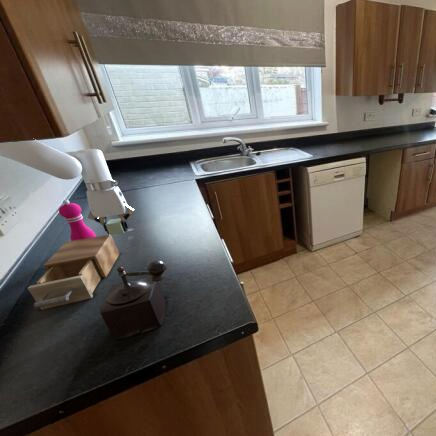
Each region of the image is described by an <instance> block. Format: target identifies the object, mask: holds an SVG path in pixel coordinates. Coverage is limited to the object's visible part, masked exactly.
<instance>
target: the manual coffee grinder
mask: <svg viewBox="0 0 436 436" xmlns="http://www.w3.org/2000/svg"><path fill="white" fill-rule="evenodd" d="M124 269H125V268H124V267H123V266H118V267H117V268H116V271H117V273H118V274H117V275H118V277H120V278H121V280H122V282H121V283H117V284H112V285H111V286H110V288H109V290H108V292H107V294H106V296H105V298H104V300H103V302H102V304H101V306H100V309H99V315H100V316H101V318H102V319H103V322H104V323H105V325H106V327H107V329H108V331H109V332H110V333H111V334H110V335H111V336H112V338H113V340H114V341H118V340H122V339H125V338H130V337H134V336H137V335H141V334H143V333H146V332H150V331H153V330H155V329H158V328H159V327H162V325H163V321H164V319H165V315H166V314H165V313H166V307H167V306H166V299H165V297H164V295H163V292H162V289H161V286H160V283H159V282H161V281H163V280H164V278H165V275H164V272H165V271H166V270H167V265H166V263H165V262H164V261H162V260H153V261H151V262H149V264H148V266H147V268H146V271H125V270H124ZM136 276H146V277H143V278H139V279H134V280H130V281H129V280H128V279H127V277H136Z"/></svg>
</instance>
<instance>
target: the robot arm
mask: <svg viewBox="0 0 436 436" xmlns="http://www.w3.org/2000/svg"><path fill="white" fill-rule="evenodd" d="M0 157H3V158H7V159H9V160H13V161H15V162H17V163H19V164H22V165H25V166H27V167H30V168H32V169H35V170H37V171H39V172H43V173H45V174H48V175H50V176H52V177H54V178H57V179H61V180H68V181H69V180H74V179H76V178H78V177H79V176H81V177H82V179H83V182H84V184H85V186H86V189H87V190H86V192H85V193H86V198H87V203H88V206H89V210H90V211H89V213H88V214H87V219H89V220H91V221H94V222H97V223H98V224H100V225H101V226H102V227H103V229H104V231H105V232H106V233H107V235H109V232H108V230H107V227H106V223H107V222H108V221H109V220H108V217H112V216H113V217H114V216H118V219H119V218H120V219H121V221H122V222H121V224H122V227H123V229H124V231H125V232H128V230H129V229H130V224H129V222H128V219H129V217H130V216H131V215H133V214H134V212H135V208H132V207H131V206H129V205H128V202H127V200H126V198H125V196H124V194H123V192H122V191H121V189H120V187H119V186H118V185H119V181H118V180H114V178H112V174H111V173H110V170H109V166H108V165H107V161H106V159H105V155H104V153H103V151H101V149H98V148H86V149H79V150H75V151H61V150H58V149H56V148H54V147H53V146H50V145H48V144H45V143H44V142H42V141H39V140H37V139H35V140H34V141H22V142H11V143H0ZM125 232H124V233H125Z"/></svg>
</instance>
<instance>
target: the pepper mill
mask: <svg viewBox="0 0 436 436" xmlns="http://www.w3.org/2000/svg"><path fill="white" fill-rule="evenodd" d="M58 213H59V215H60V216H61V217H62V218H63V217H64V221H65V222H66V223H67V224H68V225H69V227H70V241H74V240H80V239H86V238H92V237H97V236H96V233H95V232H94V231H93V229H91V228H90V227H88V226H87V225H86V224H85V222H84V220H83V218H84V216H83V214H82V208H81V206H80V205H79V204H77V203H73V202H70V200H68V199H64V200H62V205H61V206H59V208H58Z"/></svg>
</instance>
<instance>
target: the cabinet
mask: <svg viewBox="0 0 436 436" xmlns="http://www.w3.org/2000/svg"><path fill="white" fill-rule="evenodd" d="M119 256H120V252H119V250H118V247H117V246H116V243H115V240H114V238H113V235H111V234H104V235H97V236H96V237H92V238H86V239H80V240H74V241H71V240H69V241H68V240H67V241H65V243H64V244H62V246H61V247H59V248H58V250H57V251H56V252H55V253H54V254H53V255H52V256H51V257H49V259H48V260H47V261H46V262H45V263H44V264H43V267H44V269H45V272H47V271H48V270H49V269H50V268H51V267H52V266H55V265H60V264H65V263H71V262H76V261H81V260H86V259H92V258H94V260H95V262H96V264H97V266H98V268H99V270H100V273H101V275H102V278H104V279H105V278H107V277H108V275H109V273H110V272H111V269H112V268H113V266H114V264H115V263H116V261H117V259H118V258H119Z"/></svg>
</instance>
